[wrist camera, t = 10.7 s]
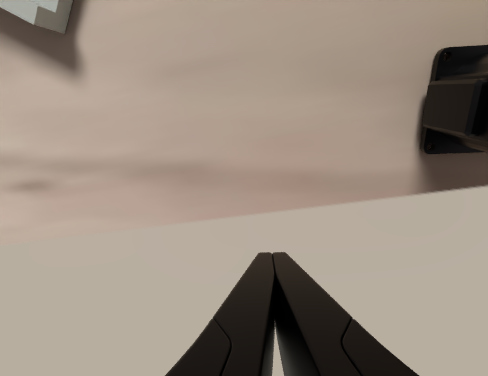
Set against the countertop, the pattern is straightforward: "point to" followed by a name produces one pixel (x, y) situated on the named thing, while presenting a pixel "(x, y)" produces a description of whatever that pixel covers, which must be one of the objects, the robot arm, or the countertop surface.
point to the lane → (41, 12)
